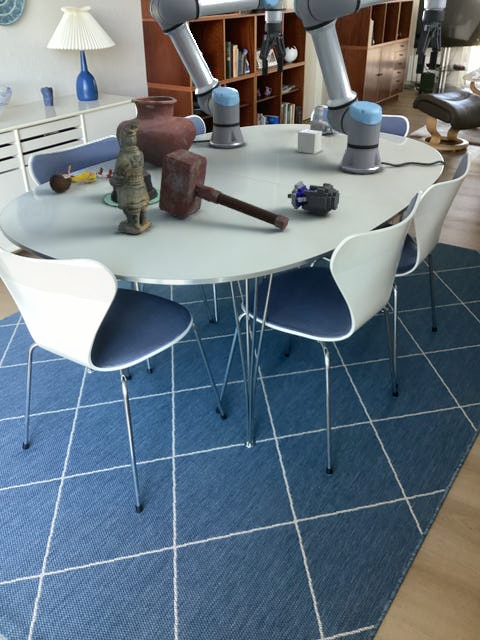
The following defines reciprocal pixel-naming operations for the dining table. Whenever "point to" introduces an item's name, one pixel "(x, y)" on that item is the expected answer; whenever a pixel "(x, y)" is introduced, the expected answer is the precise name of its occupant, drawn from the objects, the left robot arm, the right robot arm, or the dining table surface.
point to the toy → (315, 198)
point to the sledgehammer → (200, 190)
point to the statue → (131, 182)
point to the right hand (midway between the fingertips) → (425, 71)
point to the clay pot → (160, 128)
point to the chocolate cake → (152, 192)
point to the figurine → (74, 179)
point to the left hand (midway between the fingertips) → (272, 73)
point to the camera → (320, 122)
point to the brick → (309, 141)
